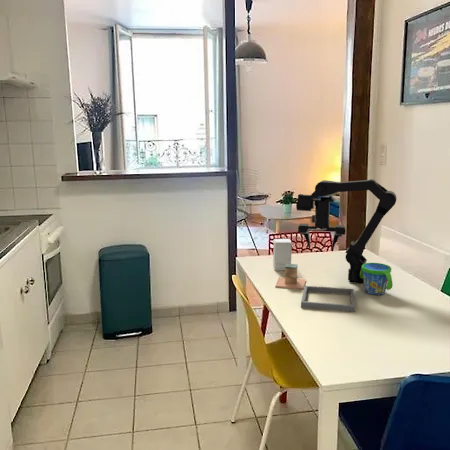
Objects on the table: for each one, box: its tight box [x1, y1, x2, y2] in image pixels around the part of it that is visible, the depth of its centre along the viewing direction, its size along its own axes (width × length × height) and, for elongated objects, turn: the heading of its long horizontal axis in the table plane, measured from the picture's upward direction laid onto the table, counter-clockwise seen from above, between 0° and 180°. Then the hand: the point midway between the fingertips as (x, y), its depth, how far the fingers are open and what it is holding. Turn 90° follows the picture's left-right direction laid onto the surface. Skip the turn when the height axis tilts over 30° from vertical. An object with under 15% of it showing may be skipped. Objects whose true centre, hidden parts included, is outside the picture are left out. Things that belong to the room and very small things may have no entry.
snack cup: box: [360, 262, 393, 296], centre depth 184 cm, size 16×10×10 cm
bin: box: [300, 285, 356, 313], centre depth 176 cm, size 18×18×2 cm
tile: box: [275, 276, 307, 290], centre depth 195 cm, size 11×11×1 cm
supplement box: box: [272, 238, 293, 271], centre depth 215 cm, size 7×7×13 cm
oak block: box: [284, 263, 298, 285], centre depth 194 cm, size 4×4×7 cm
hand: (320, 249), depth 200 cm, fingers open, 9 cm apart
